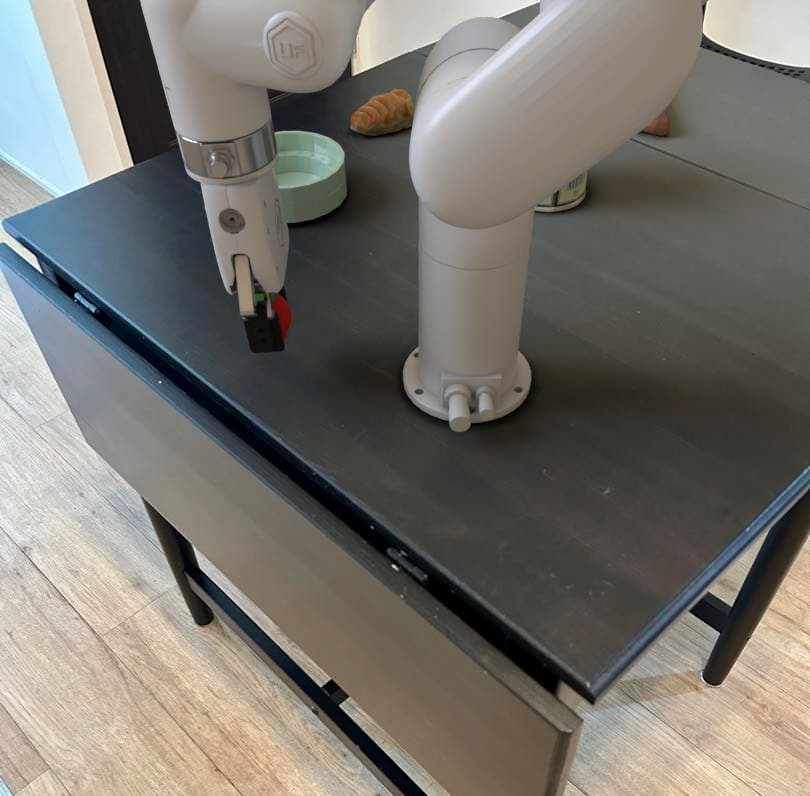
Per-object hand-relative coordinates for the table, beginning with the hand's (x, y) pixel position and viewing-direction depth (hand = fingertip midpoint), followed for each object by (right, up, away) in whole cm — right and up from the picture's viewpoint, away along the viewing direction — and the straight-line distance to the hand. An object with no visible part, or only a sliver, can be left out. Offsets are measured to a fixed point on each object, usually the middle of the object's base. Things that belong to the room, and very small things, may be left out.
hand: (270, 331), depth 80 cm
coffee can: (+31, +24, +25) cm, 46 cm away
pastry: (+10, +38, +37) cm, 54 cm away
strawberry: (0, 0, 0) cm, 1 cm away
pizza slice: (+39, +42, +40) cm, 70 cm away
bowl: (-1, +23, +25) cm, 34 cm away
